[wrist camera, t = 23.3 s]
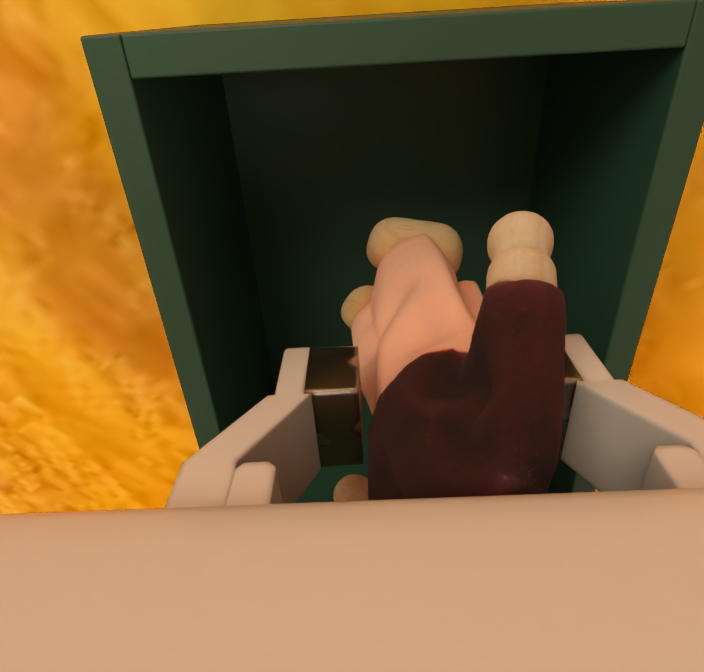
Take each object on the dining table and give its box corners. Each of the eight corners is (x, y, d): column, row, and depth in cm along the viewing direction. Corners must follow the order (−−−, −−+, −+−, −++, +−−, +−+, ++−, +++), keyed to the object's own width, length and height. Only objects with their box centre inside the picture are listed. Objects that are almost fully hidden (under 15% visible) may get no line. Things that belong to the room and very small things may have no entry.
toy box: (196, 25, 17) (78, 35, 10) (572, 2, 17) (742, -5, 10) (262, 388, 26) (225, 542, 18) (516, 378, 25) (583, 531, 18)
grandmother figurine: (434, 384, 17) (592, 1002, 6) (320, 367, 17) (288, 1005, 6) (516, 149, 13) (1297, 748, 2) (370, 118, 13) (538, 693, 2)
